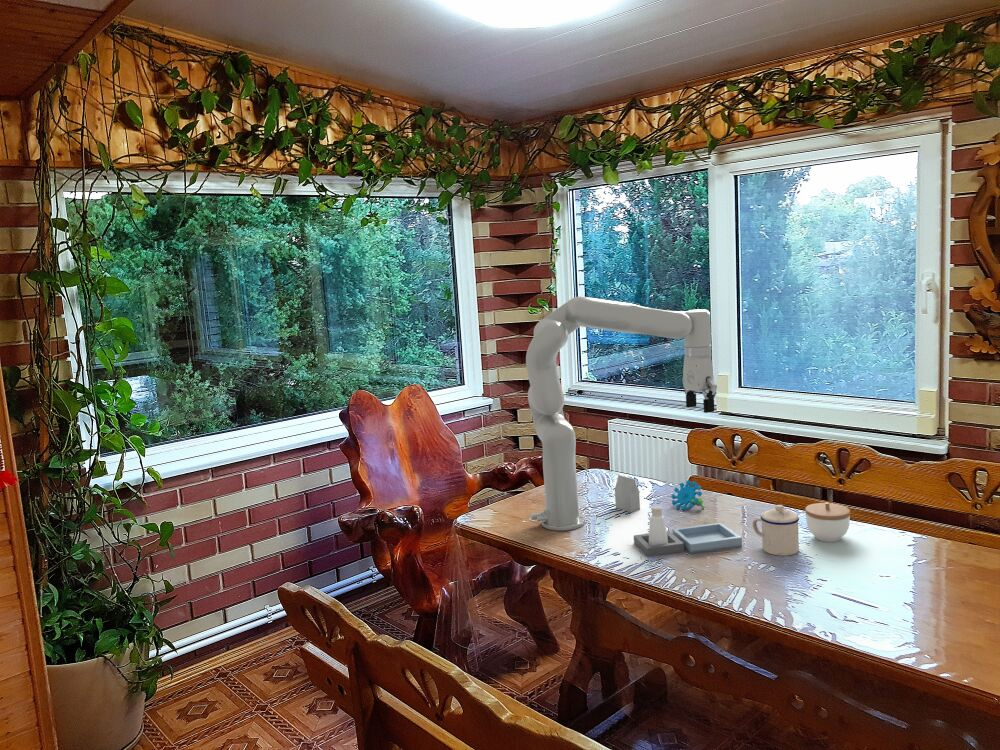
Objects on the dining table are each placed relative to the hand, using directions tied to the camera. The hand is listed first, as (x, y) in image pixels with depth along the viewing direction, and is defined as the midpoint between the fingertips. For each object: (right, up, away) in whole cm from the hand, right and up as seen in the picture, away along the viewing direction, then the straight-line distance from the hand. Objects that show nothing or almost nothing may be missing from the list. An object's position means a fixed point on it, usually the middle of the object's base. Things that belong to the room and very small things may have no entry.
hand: (700, 409), depth 224 cm
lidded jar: (+26, -33, -26) cm, 49 cm away
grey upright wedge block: (-20, -31, +9) cm, 38 cm away
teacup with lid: (+11, -34, -30) cm, 47 cm away
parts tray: (-4, -34, -23) cm, 41 cm away
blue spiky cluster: (-2, -30, +6) cm, 31 cm away
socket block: (-17, -35, -24) cm, 46 cm away
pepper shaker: (-17, -36, -24) cm, 46 cm away
